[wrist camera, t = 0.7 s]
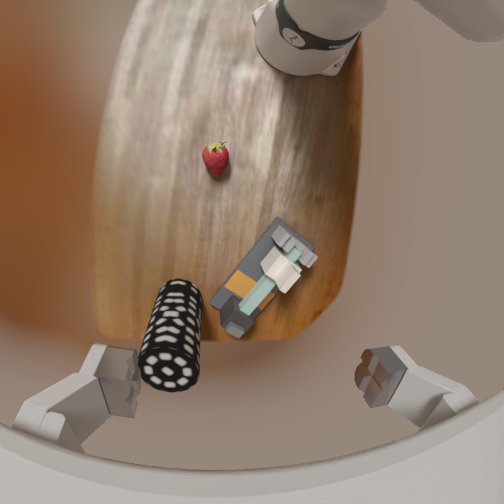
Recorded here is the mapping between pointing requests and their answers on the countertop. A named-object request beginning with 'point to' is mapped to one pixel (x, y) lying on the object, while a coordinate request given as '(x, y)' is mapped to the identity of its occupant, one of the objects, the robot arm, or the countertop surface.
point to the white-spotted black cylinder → (173, 338)
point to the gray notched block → (287, 243)
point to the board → (254, 269)
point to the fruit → (215, 157)
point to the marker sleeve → (281, 269)
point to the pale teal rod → (264, 286)
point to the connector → (235, 318)
